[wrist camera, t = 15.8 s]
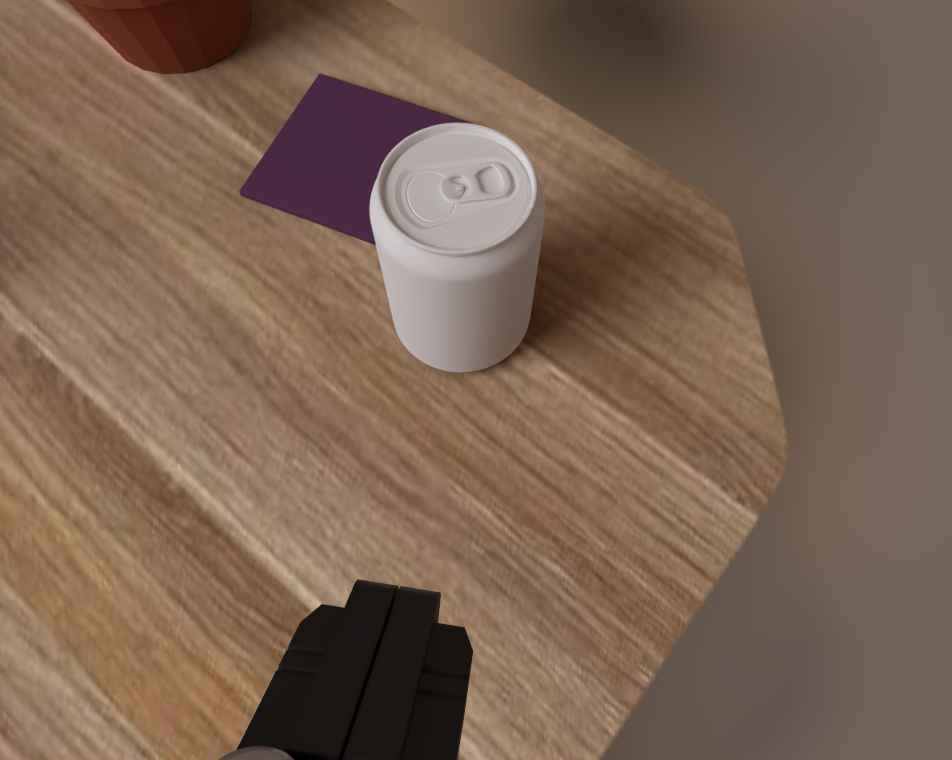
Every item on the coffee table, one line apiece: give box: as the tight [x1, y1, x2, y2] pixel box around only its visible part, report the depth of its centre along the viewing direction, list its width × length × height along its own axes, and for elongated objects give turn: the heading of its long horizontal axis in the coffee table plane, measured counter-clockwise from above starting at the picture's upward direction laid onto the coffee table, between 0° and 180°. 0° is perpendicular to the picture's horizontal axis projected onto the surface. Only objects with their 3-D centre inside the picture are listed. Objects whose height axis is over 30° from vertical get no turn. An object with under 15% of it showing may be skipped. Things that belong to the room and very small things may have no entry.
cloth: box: [239, 74, 473, 245], centre depth 46 cm, size 12×11×1 cm
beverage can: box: [369, 123, 546, 372], centre depth 37 cm, size 8×8×12 cm
